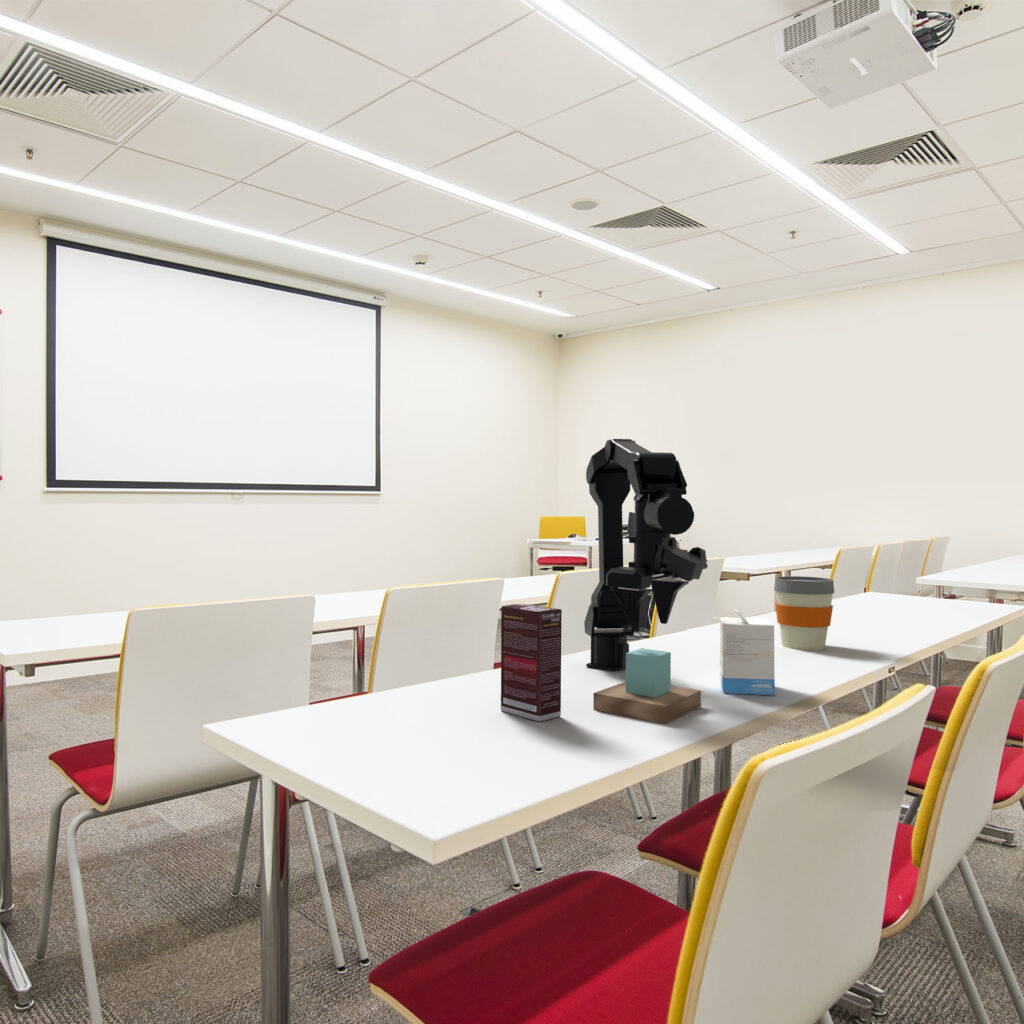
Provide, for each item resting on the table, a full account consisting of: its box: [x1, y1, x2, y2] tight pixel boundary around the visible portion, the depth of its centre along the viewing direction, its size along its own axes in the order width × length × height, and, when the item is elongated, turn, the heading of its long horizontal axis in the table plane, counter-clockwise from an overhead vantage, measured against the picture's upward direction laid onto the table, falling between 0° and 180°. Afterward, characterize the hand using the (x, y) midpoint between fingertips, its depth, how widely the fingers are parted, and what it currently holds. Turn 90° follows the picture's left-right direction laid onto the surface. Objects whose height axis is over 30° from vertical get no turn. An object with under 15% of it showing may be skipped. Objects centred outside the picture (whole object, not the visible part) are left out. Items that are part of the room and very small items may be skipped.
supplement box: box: [500, 603, 563, 722], centre depth 114 cm, size 9×5×16 cm, turn 43°
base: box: [592, 681, 702, 725], centre depth 118 cm, size 12×12×2 cm
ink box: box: [719, 607, 776, 696], centre depth 131 cm, size 9×8×13 cm
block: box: [625, 648, 672, 697], centre depth 118 cm, size 5×5×6 cm
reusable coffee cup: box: [773, 575, 835, 651], centre depth 171 cm, size 13×13×15 cm
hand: (650, 627), depth 124 cm, fingers open, 9 cm apart
